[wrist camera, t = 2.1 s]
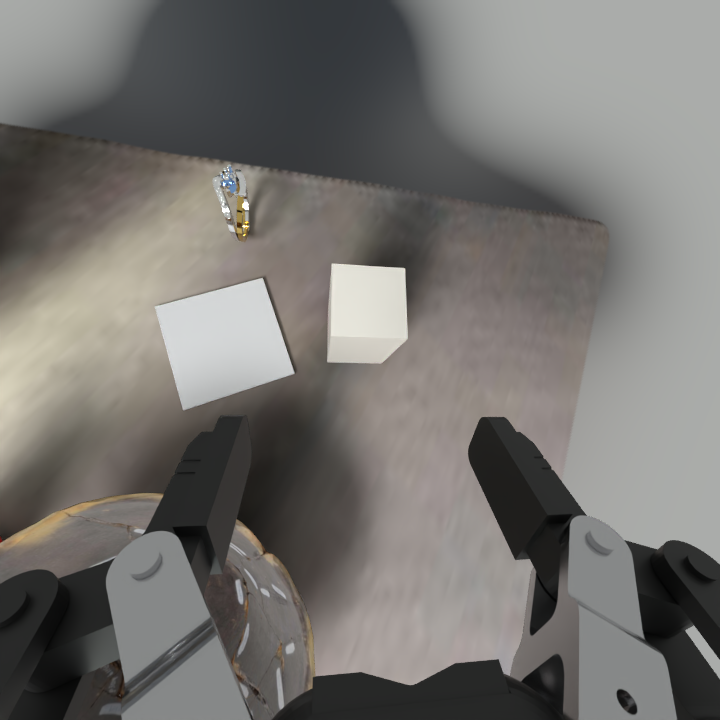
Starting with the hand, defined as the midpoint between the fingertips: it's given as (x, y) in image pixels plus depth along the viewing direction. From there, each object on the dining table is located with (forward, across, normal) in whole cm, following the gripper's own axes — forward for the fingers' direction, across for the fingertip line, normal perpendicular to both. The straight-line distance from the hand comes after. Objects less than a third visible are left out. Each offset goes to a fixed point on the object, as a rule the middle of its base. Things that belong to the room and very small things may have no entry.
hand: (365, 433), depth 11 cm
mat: (+24, +12, +10) cm, 29 cm away
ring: (+34, +11, 0) cm, 36 cm away
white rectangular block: (+25, -2, +9) cm, 27 cm away
